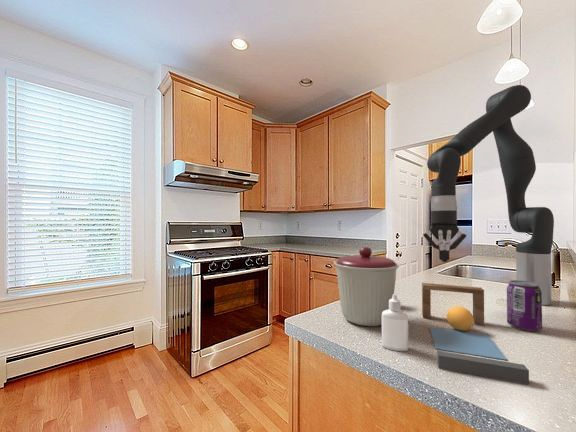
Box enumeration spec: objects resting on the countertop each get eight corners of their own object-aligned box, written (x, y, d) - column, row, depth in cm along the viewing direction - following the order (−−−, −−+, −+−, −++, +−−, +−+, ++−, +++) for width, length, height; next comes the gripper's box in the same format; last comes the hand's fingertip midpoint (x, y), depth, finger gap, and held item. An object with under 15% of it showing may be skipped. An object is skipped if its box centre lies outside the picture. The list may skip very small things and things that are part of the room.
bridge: (422, 314, 82) (422, 282, 82) (481, 321, 76) (480, 287, 77) (423, 318, 79) (422, 285, 79) (484, 325, 74) (484, 290, 74)
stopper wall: (437, 363, 55) (437, 350, 55) (524, 378, 49) (524, 364, 49) (438, 368, 53) (438, 355, 53) (529, 384, 47) (528, 370, 47)
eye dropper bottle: (401, 355, 58) (401, 299, 58) (378, 345, 62) (378, 293, 62) (411, 349, 60) (411, 295, 61) (388, 340, 65) (388, 290, 65)
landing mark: (429, 327, 72) (429, 326, 72) (487, 335, 68) (487, 334, 68) (435, 349, 60) (435, 348, 60) (507, 360, 55) (507, 359, 55)
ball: (444, 311, 76) (446, 301, 72) (469, 313, 74) (473, 303, 70) (447, 332, 72) (449, 323, 68) (473, 335, 70) (477, 326, 66)
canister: (367, 338, 66) (366, 252, 66) (321, 315, 81) (321, 245, 82) (413, 324, 75) (413, 248, 75) (364, 306, 91) (364, 243, 91)
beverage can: (549, 334, 68) (548, 286, 68) (517, 332, 70) (516, 285, 70) (530, 323, 75) (529, 280, 75) (501, 321, 77) (501, 279, 77)
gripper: (464, 209, 91) (464, 261, 91) (420, 210, 96) (421, 259, 96) (469, 209, 84) (470, 264, 84) (422, 209, 89) (423, 262, 89)
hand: (444, 261), depth 90 cm, fingers closed
